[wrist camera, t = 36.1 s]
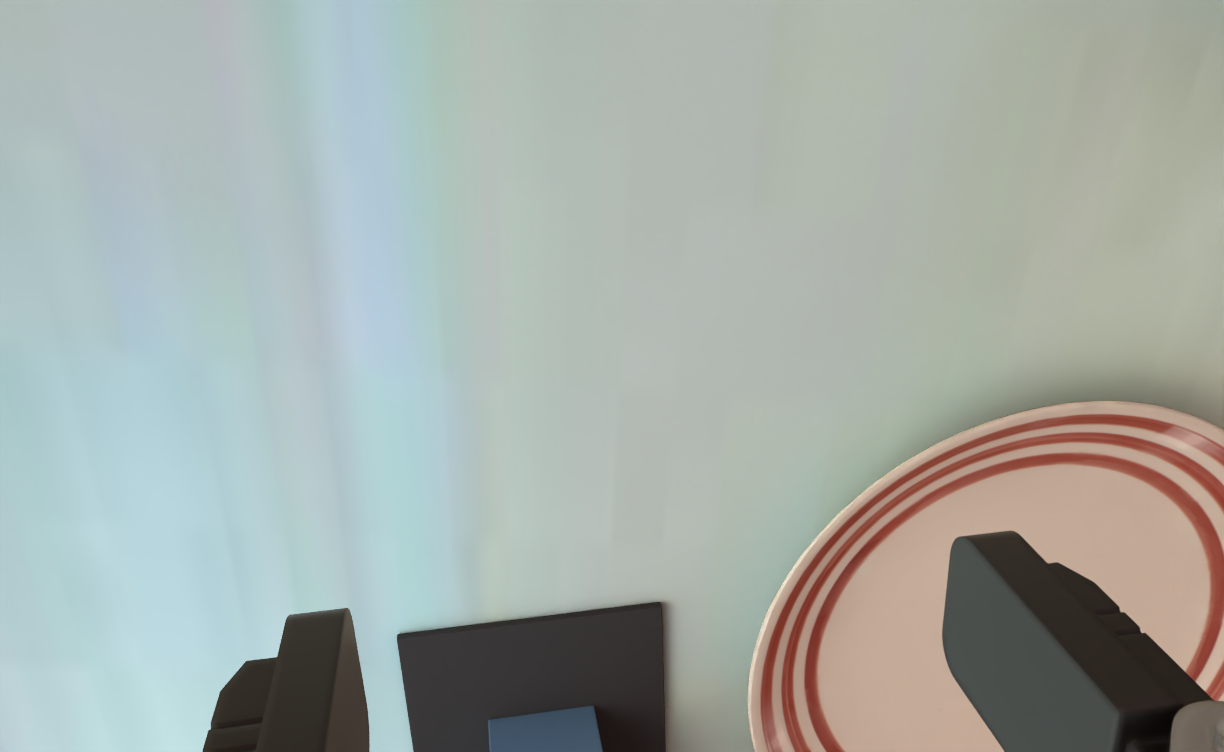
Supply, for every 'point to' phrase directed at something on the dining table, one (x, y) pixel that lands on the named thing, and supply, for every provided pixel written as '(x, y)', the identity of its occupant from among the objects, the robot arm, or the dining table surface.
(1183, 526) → the dinner plate
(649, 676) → the mat
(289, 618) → the robot arm
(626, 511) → the dining table surface
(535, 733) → the blue block
